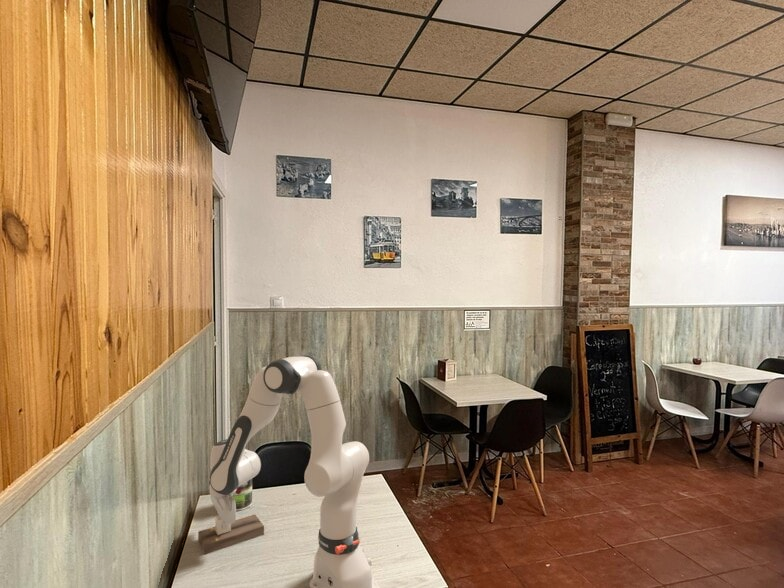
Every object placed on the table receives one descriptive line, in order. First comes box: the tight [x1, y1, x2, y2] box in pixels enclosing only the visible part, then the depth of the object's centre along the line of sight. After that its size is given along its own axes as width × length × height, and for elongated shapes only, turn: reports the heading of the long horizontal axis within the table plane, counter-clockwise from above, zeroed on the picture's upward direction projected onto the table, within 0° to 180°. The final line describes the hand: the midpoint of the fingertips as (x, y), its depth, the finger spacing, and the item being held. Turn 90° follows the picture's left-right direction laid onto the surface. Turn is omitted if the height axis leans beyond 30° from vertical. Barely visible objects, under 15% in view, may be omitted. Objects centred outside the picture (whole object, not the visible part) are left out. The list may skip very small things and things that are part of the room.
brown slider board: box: [197, 514, 265, 555], centre depth 147 cm, size 10×20×3 cm, turn 126°
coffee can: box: [232, 478, 253, 512], centre depth 170 cm, size 10×10×14 cm
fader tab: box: [214, 514, 231, 535], centre depth 146 cm, size 4×4×5 cm
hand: (223, 525), depth 146 cm, fingers closed on fader tab, 3 cm apart
